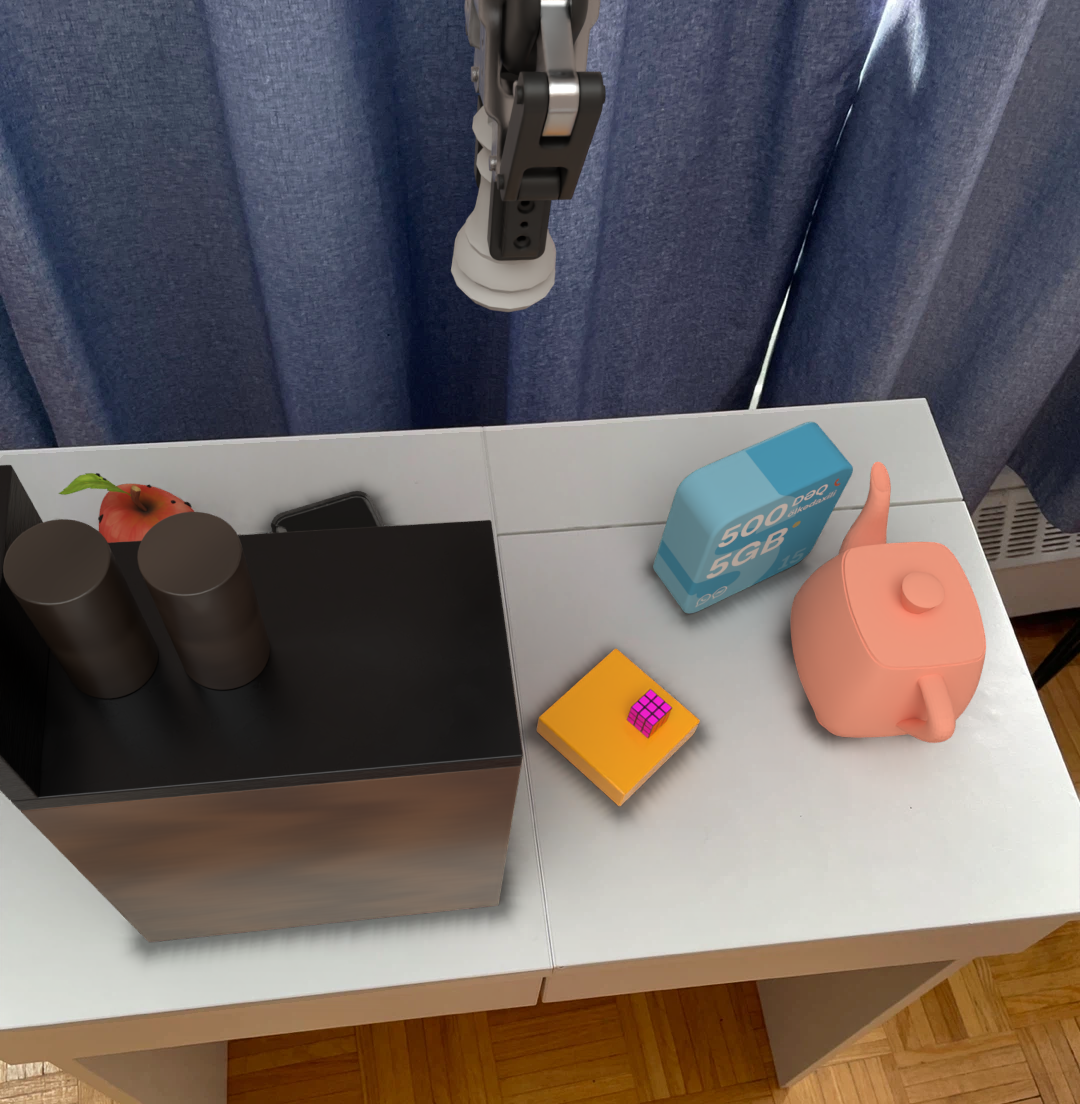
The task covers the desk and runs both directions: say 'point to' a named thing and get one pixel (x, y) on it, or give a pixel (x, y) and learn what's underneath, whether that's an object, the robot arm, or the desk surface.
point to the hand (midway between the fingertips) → (508, 216)
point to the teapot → (888, 632)
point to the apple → (129, 507)
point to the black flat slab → (279, 675)
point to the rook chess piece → (472, 261)
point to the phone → (330, 514)
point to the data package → (749, 515)
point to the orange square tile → (617, 726)
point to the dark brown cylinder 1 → (82, 607)
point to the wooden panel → (293, 852)
